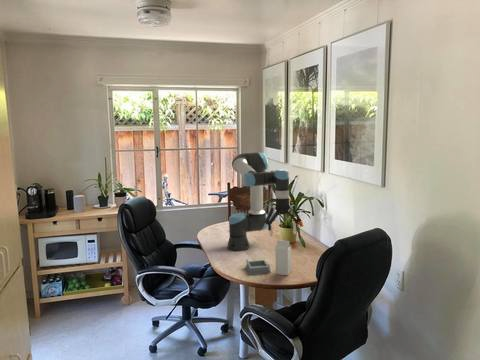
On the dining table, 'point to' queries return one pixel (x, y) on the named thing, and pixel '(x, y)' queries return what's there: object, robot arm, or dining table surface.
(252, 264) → the seat block
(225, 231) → the dining table surface
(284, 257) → the milk carton
